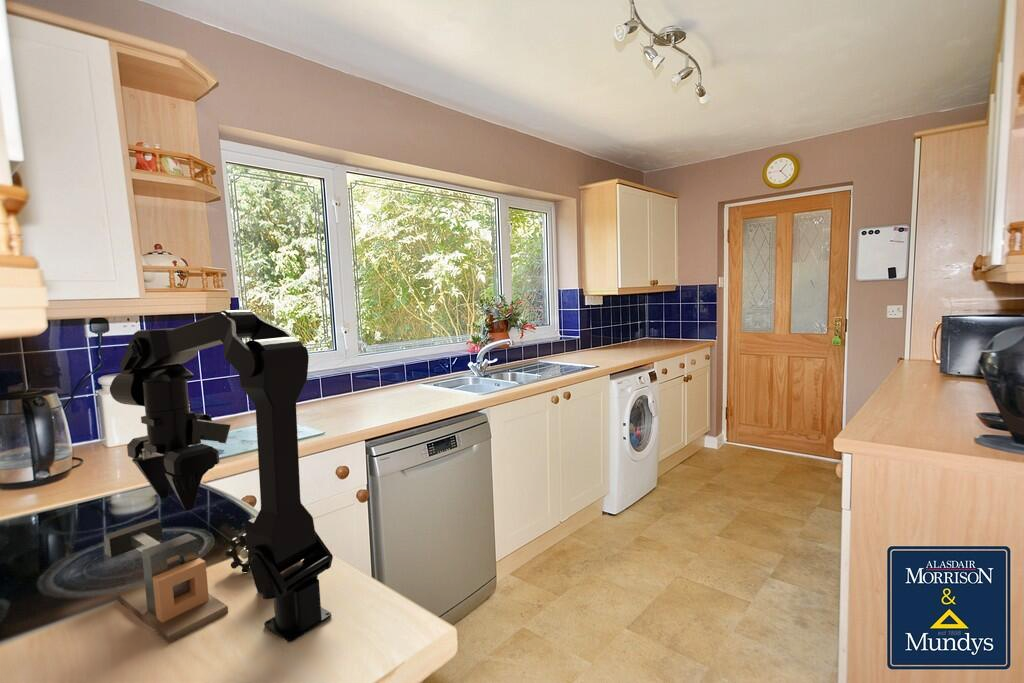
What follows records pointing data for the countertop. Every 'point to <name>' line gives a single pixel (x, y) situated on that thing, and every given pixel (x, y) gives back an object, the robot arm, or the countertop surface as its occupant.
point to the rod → (137, 540)
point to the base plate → (177, 624)
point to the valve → (243, 553)
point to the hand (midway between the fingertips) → (176, 503)
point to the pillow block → (157, 564)
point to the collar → (196, 596)
